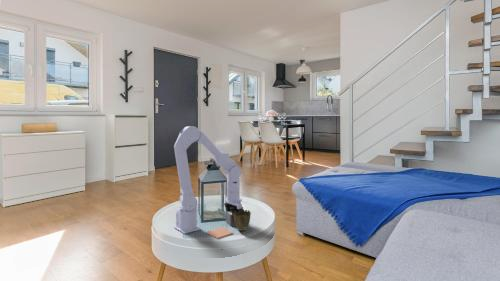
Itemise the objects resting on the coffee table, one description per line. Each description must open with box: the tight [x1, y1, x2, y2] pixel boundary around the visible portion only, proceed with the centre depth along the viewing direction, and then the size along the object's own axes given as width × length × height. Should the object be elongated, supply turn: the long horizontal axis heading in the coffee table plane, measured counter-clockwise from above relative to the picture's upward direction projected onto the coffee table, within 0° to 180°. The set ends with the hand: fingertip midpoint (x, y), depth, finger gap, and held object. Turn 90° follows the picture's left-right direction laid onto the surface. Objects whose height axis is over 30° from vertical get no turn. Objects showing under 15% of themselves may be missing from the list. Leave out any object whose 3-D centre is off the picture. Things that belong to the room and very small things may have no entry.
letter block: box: [225, 211, 236, 227], centre depth 128 cm, size 5×5×5 cm
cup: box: [233, 208, 252, 232], centre depth 119 cm, size 8×7×8 cm
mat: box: [205, 226, 234, 240], centre depth 116 cm, size 8×8×1 cm
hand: (233, 220), depth 128 cm, fingers closed on letter block, 5 cm apart
